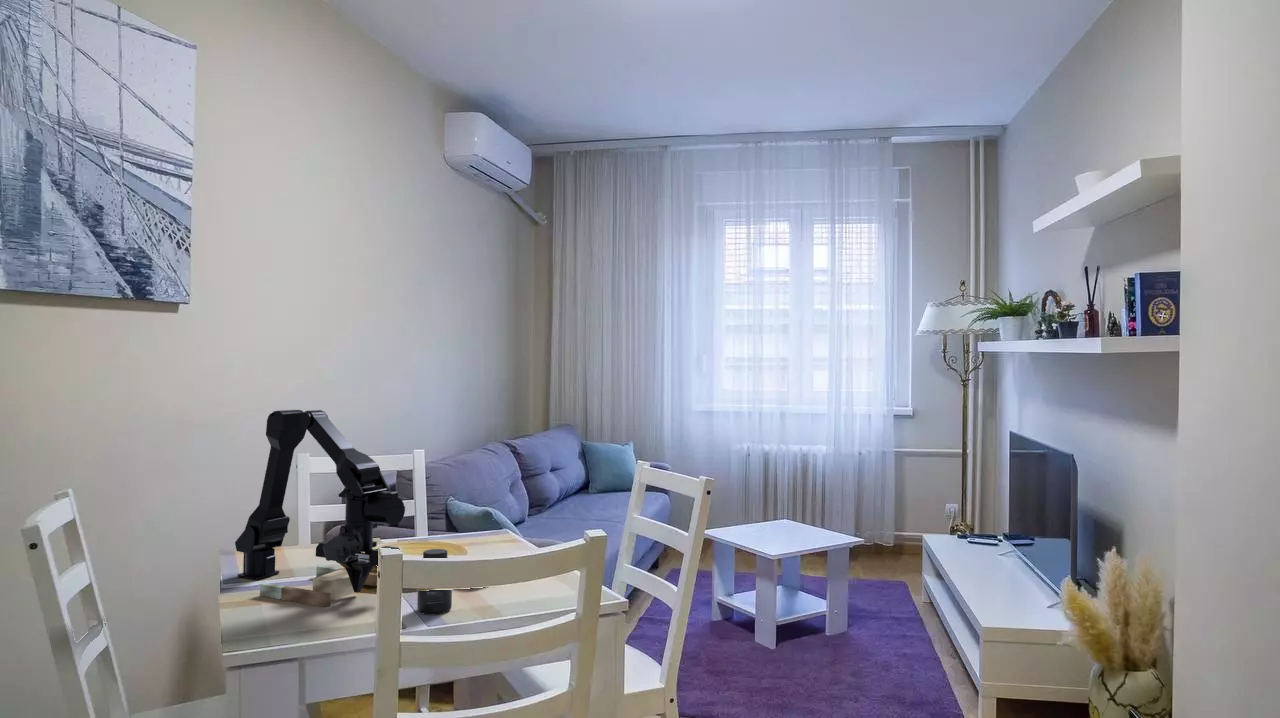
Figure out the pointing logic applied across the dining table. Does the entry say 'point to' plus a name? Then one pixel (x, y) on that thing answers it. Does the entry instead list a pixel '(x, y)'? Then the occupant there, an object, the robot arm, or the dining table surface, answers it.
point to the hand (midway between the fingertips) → (357, 592)
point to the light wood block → (334, 584)
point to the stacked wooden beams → (304, 594)
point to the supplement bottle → (434, 591)
